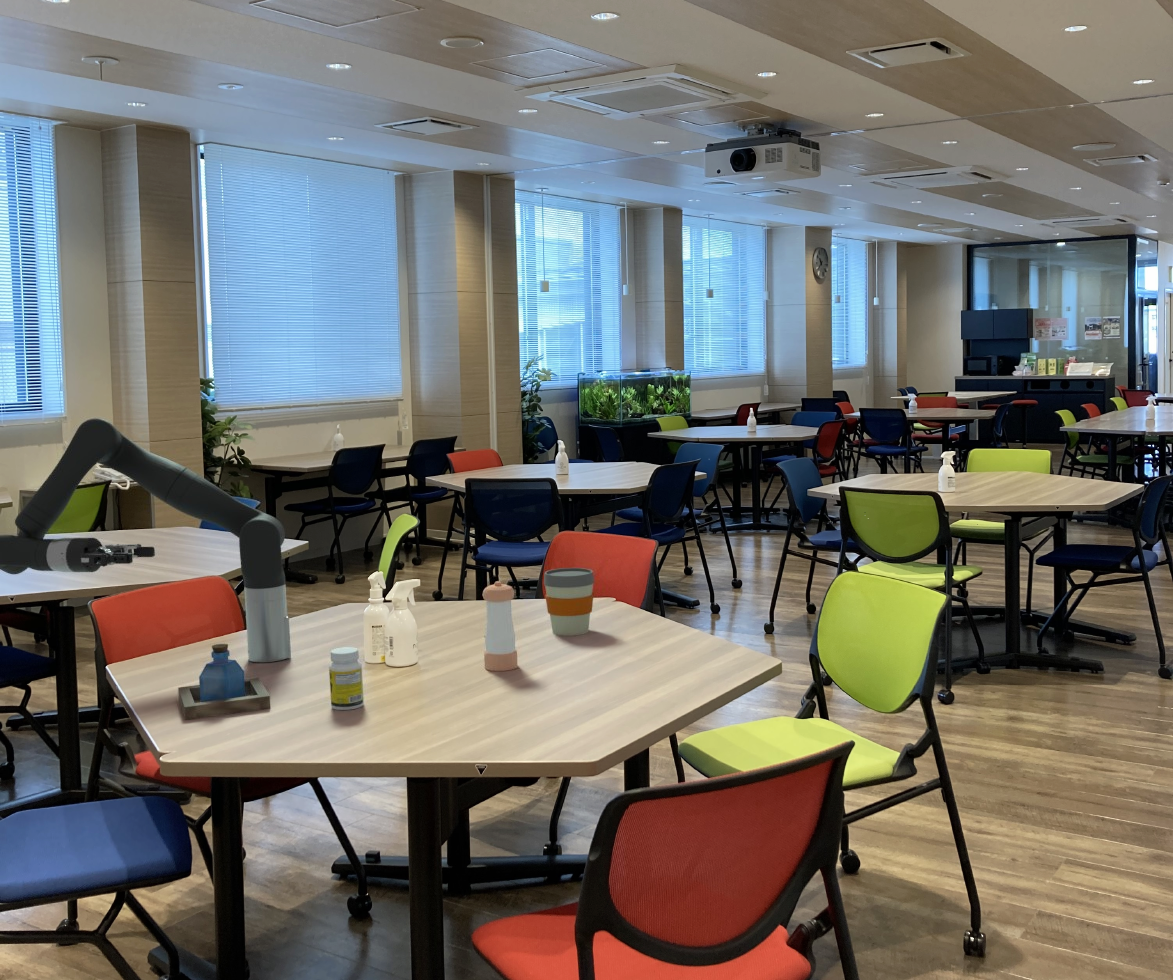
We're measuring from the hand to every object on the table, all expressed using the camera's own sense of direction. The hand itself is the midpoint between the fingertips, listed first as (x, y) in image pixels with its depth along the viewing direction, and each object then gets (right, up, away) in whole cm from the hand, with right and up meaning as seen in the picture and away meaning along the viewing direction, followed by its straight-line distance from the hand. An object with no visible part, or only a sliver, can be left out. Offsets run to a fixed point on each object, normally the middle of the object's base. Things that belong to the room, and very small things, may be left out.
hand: (142, 555), depth 252 cm
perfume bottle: (+22, -29, -16) cm, 40 cm away
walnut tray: (+22, -29, -16) cm, 40 cm away
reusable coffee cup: (+91, -22, +41) cm, 102 cm away
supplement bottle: (+48, -29, -20) cm, 59 cm away
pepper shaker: (+76, -25, +7) cm, 81 cm away
